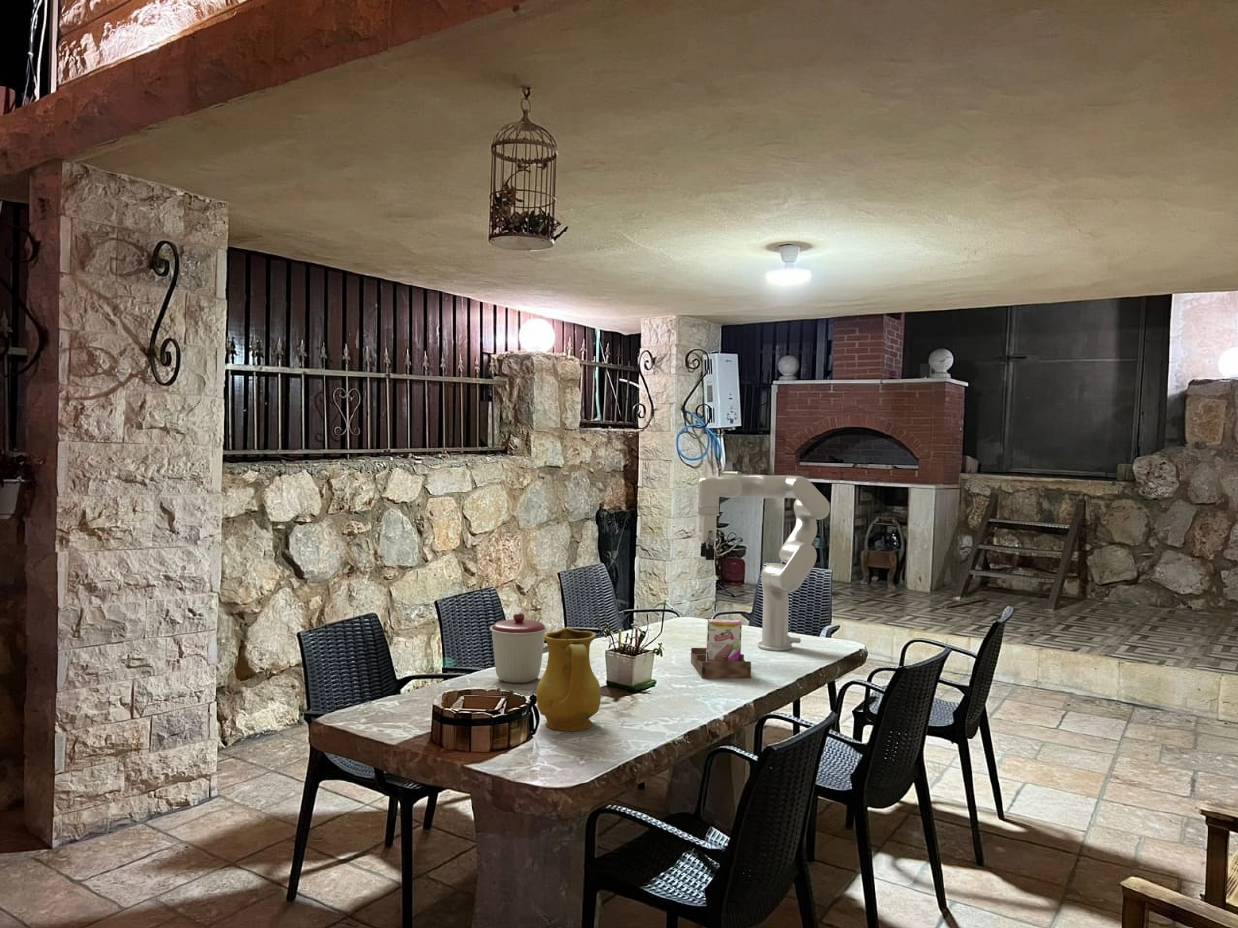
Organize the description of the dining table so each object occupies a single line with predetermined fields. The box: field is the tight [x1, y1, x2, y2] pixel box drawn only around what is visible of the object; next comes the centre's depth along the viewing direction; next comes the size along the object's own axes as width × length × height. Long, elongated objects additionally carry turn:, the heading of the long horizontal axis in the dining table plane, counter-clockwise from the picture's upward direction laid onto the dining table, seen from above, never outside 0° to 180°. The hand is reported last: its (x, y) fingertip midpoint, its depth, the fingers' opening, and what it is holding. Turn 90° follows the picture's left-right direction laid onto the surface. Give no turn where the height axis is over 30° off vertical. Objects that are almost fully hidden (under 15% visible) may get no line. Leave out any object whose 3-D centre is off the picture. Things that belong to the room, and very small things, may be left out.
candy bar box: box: [706, 618, 743, 661], centre depth 291 cm, size 11×5×16 cm, turn 87°
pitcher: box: [535, 627, 602, 732], centre depth 234 cm, size 17×19×25 cm
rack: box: [690, 647, 752, 679], centre depth 296 cm, size 16×21×5 cm
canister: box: [489, 612, 548, 684], centre depth 279 cm, size 18×18×21 cm
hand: (707, 558), depth 322 cm, fingers open, 9 cm apart
